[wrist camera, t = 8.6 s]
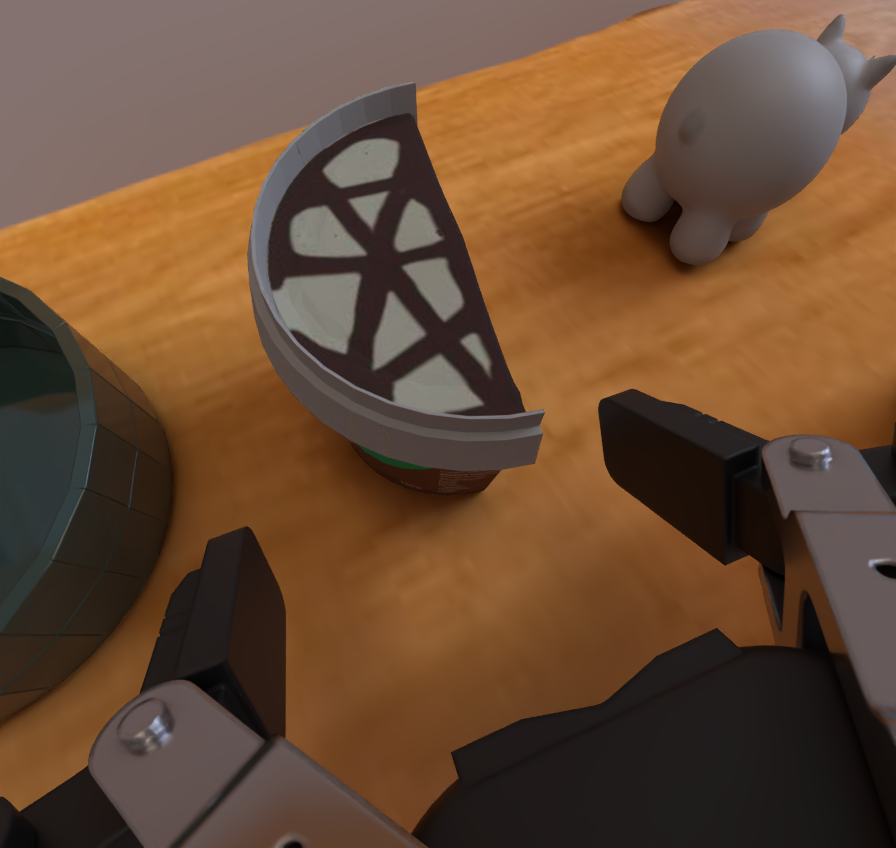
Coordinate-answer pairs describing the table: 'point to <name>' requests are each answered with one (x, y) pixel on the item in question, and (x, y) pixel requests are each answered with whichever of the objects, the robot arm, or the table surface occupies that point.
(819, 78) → the round bodied animal figurine
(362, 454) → the food container
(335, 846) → the robot arm
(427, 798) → the table surface
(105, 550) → the bowl
